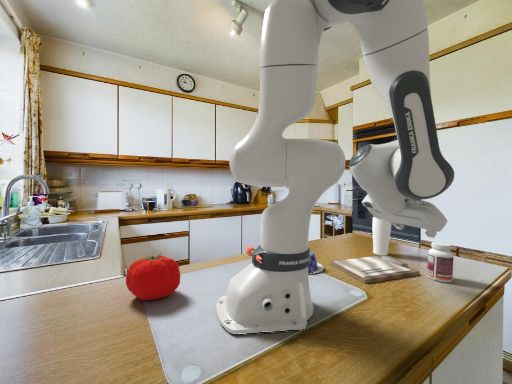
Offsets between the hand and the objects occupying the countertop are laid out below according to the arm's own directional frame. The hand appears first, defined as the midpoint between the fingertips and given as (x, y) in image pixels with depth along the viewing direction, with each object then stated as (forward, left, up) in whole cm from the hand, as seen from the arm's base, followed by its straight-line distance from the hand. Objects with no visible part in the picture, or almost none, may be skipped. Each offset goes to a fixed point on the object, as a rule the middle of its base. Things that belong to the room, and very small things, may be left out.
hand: (415, 231), depth 67 cm
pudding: (-23, +21, -16) cm, 35 cm away
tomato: (-70, +15, -16) cm, 73 cm away
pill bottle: (+12, +1, -16) cm, 20 cm away
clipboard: (-2, +13, -16) cm, 20 cm away
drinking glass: (+14, +25, -16) cm, 32 cm away
